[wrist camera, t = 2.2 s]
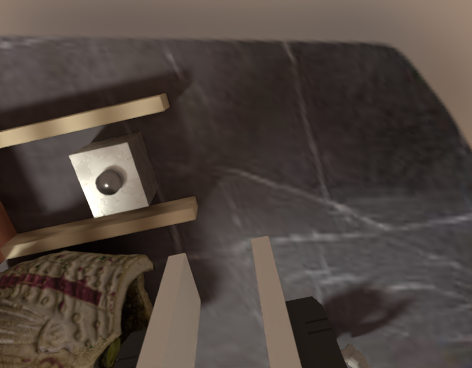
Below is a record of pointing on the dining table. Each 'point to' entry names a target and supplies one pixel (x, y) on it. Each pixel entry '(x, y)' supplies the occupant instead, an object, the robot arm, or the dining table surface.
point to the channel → (15, 245)
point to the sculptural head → (72, 309)
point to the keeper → (115, 174)
